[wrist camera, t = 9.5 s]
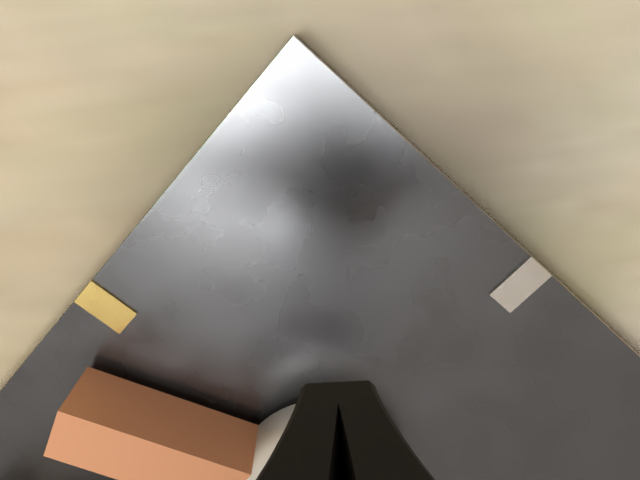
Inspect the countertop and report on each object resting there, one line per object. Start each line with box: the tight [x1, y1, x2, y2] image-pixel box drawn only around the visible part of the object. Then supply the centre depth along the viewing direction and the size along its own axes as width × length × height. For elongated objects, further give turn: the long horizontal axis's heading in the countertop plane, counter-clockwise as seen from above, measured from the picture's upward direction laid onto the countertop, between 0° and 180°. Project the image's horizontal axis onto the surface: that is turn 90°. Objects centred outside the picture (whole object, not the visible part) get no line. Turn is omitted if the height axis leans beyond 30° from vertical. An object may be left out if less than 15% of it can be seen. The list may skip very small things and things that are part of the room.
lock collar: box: [43, 367, 296, 480], centre depth 20 cm, size 12×6×2 cm, turn 67°
